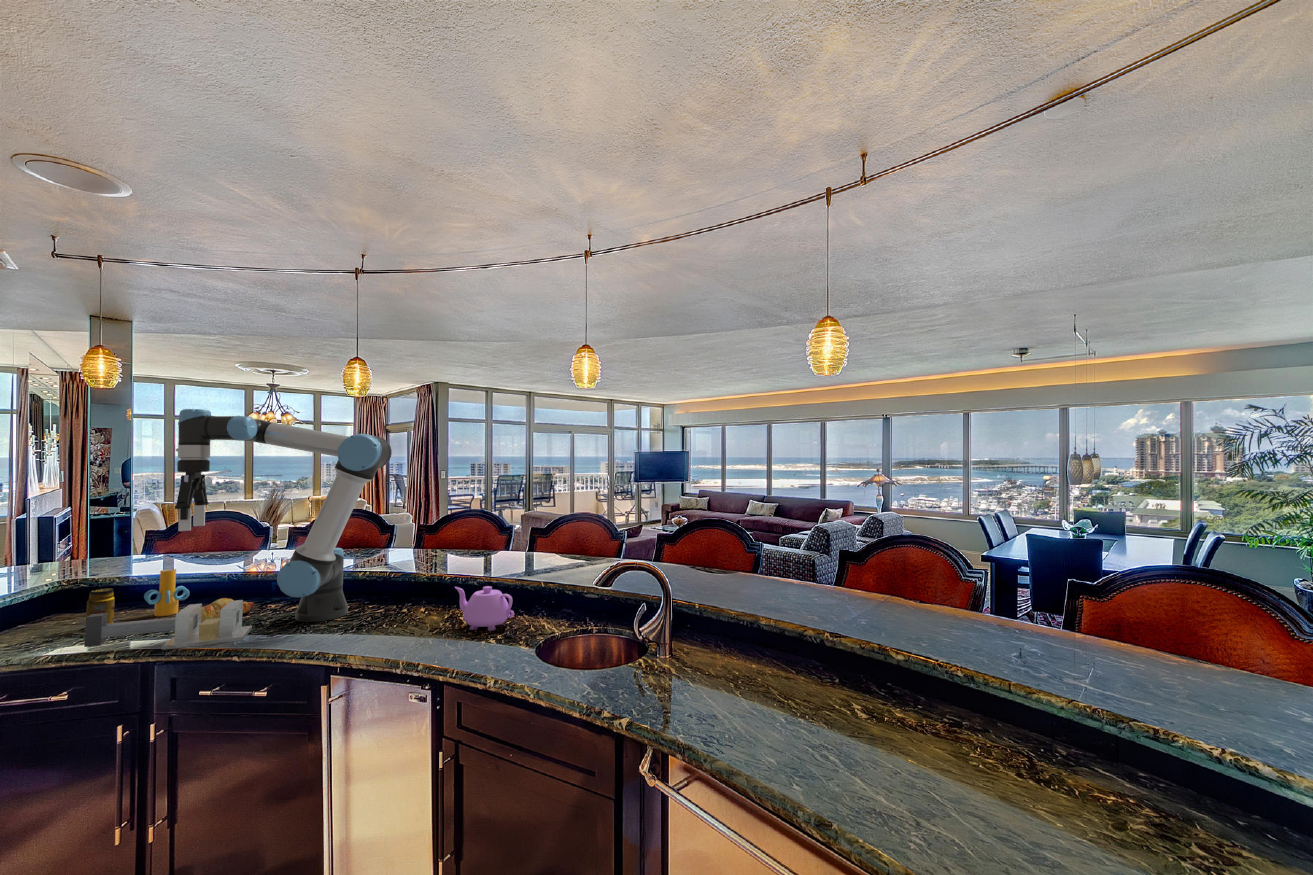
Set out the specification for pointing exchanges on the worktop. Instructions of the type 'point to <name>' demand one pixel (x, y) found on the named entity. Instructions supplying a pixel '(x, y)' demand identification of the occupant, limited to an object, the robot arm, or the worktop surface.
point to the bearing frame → (189, 634)
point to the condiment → (100, 605)
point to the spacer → (209, 628)
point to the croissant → (215, 607)
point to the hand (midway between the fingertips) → (192, 528)
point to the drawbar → (123, 628)
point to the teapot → (485, 608)
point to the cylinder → (166, 594)
